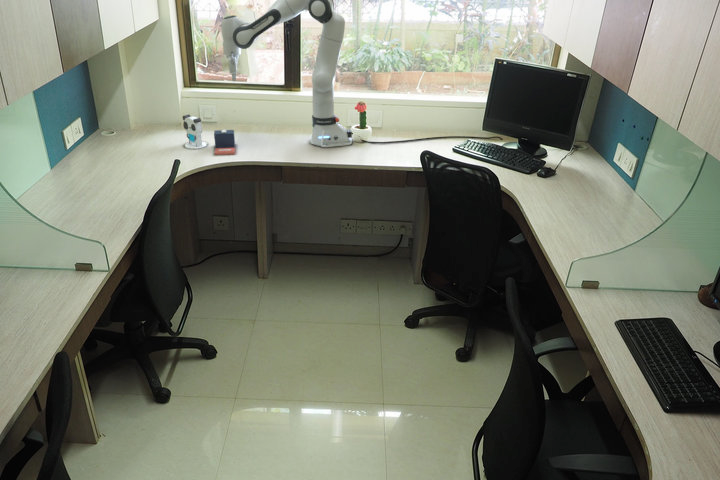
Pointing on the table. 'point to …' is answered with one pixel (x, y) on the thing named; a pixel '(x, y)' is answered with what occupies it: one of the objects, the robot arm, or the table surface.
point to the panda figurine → (193, 132)
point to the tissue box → (224, 138)
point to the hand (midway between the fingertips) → (234, 78)
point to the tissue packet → (224, 151)
